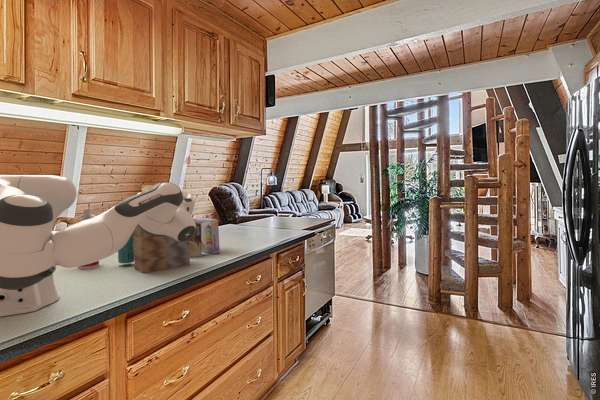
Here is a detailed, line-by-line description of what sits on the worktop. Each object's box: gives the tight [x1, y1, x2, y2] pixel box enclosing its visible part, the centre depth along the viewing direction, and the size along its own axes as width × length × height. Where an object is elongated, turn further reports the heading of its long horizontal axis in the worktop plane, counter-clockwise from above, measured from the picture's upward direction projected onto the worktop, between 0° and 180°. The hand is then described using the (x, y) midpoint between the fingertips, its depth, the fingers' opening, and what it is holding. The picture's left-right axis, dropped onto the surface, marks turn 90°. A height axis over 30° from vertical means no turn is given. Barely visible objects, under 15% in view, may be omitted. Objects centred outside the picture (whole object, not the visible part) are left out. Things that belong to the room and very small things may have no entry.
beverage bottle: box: [117, 232, 134, 264], centre depth 148 cm, size 6×7×20 cm
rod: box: [141, 185, 154, 192], centre depth 137 cm, size 3×20×3 cm, turn 42°
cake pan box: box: [192, 216, 221, 255], centre depth 176 cm, size 19×5×18 cm, turn 48°
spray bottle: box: [77, 208, 100, 270], centre depth 145 cm, size 8×8×25 cm
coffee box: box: [189, 223, 203, 258], centre depth 166 cm, size 9×6×16 cm
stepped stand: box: [133, 225, 191, 274], centre depth 145 cm, size 20×10×28 cm, turn 132°
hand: (159, 189), depth 133 cm, fingers closed on rod, 3 cm apart
